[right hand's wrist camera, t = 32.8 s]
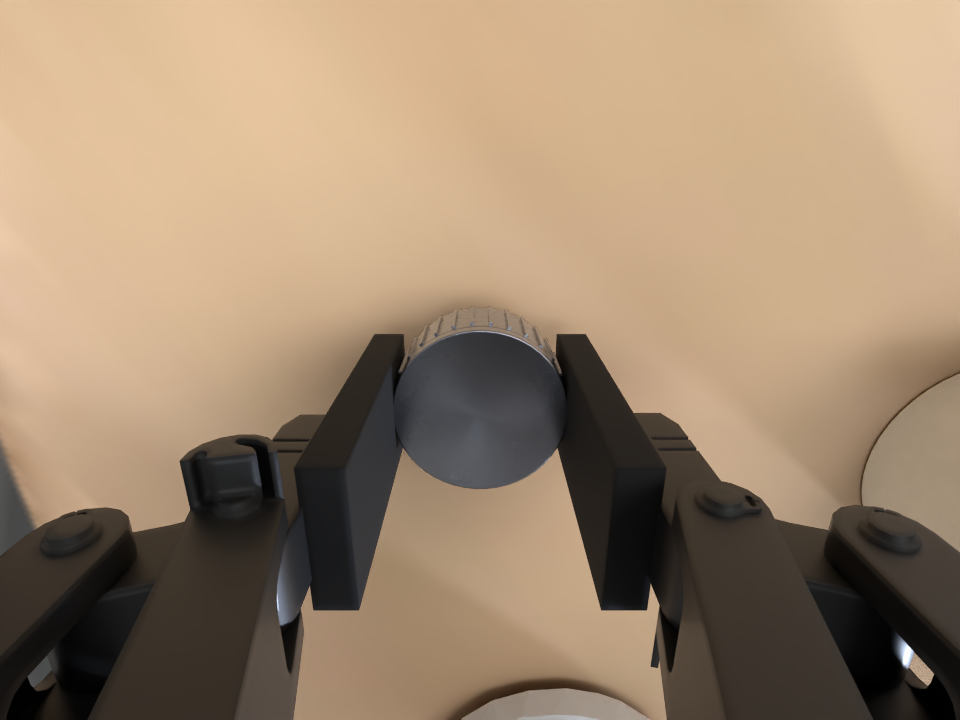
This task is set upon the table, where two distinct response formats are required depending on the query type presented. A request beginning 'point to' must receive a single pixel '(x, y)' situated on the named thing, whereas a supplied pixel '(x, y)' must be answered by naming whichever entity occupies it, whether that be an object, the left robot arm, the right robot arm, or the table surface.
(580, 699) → the mechanical component
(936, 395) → the bottle
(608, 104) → the table surface
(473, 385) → the cap
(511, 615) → the table surface
